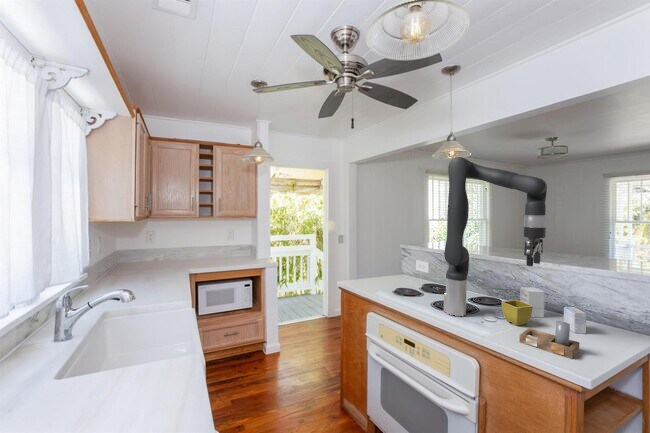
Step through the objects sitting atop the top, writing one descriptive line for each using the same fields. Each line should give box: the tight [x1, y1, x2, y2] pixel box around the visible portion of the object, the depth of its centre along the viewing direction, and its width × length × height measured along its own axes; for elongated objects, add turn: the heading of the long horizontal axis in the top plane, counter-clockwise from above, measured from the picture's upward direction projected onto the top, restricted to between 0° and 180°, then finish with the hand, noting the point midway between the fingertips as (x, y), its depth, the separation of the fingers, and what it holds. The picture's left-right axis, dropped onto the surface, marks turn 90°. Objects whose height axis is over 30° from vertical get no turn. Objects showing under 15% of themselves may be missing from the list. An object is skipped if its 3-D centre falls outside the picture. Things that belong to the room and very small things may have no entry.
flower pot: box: [501, 299, 533, 327], centre depth 135 cm, size 9×9×9 cm
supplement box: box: [519, 286, 546, 318], centre depth 145 cm, size 7×7×13 cm
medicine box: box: [563, 306, 587, 335], centre depth 128 cm, size 8×4×9 cm, turn 168°
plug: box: [554, 320, 571, 347], centre depth 110 cm, size 4×4×10 cm
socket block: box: [519, 327, 580, 360], centre depth 113 cm, size 16×10×3 cm, turn 39°
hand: (533, 264), depth 126 cm, fingers open, 8 cm apart
